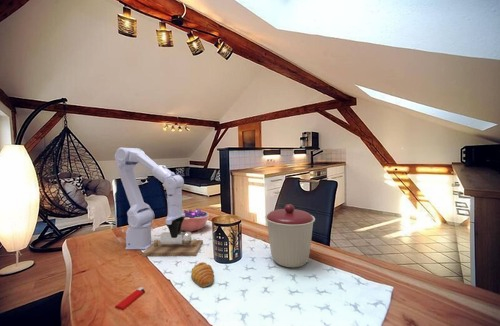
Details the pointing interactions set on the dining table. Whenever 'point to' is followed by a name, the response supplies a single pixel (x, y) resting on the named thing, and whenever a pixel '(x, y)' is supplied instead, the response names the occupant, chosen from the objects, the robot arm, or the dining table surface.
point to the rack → (173, 249)
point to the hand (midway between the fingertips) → (175, 235)
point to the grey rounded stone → (181, 238)
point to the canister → (290, 235)
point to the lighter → (130, 299)
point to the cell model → (194, 220)
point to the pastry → (202, 274)
